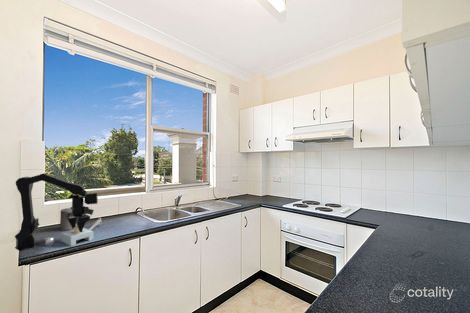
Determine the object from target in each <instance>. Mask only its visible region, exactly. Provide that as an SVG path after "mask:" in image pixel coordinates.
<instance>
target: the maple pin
mask: <svg viewBox="0 0 470 313" xmlns="http://www.w3.org/2000/svg"><path fill="white" fill-rule="evenodd" d="M72 230H73V234H77V233H81V232H80V231H79V229H78V226H77V227H74V228H73V229H72ZM81 240H82V239H79V240H76V242H80V241H81Z"/></svg>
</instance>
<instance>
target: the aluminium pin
mask: <svg viewBox="0 0 470 313" xmlns="http://www.w3.org/2000/svg"><path fill="white" fill-rule="evenodd" d="M54 245H55V237H54V236H48V237H45V238H44V247H51V246H54Z"/></svg>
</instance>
